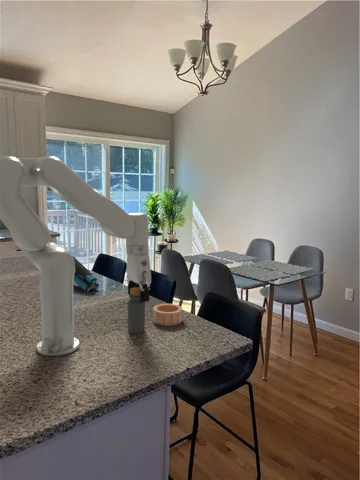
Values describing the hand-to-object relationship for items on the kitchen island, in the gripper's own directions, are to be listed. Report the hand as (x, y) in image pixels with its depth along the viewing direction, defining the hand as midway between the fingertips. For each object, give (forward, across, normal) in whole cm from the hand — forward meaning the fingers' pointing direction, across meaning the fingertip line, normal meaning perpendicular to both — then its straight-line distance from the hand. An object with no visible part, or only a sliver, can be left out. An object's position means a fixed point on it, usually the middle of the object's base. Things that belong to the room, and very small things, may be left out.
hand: (138, 297), depth 129 cm
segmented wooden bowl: (+12, +3, -13) cm, 18 cm away
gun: (+12, +65, +2) cm, 66 cm away
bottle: (+12, 0, +1) cm, 12 cm away
